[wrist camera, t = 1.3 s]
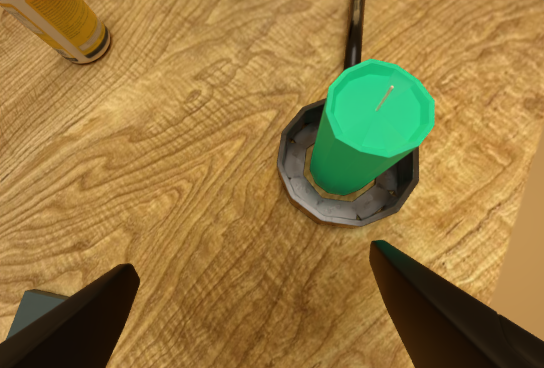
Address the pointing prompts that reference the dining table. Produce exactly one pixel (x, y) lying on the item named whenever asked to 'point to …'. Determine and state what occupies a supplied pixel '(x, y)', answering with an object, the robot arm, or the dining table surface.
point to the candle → (369, 125)
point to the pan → (293, 154)
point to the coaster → (33, 308)
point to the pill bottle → (63, 26)
